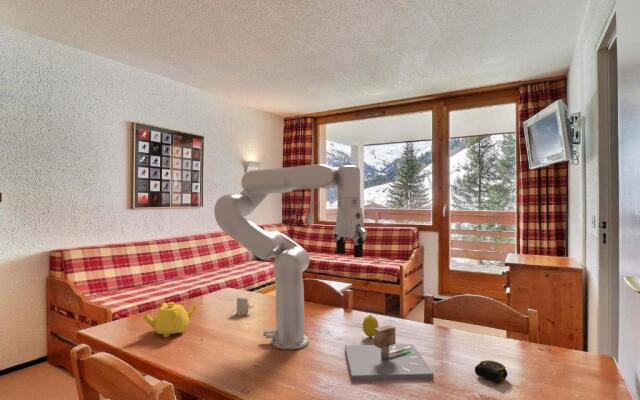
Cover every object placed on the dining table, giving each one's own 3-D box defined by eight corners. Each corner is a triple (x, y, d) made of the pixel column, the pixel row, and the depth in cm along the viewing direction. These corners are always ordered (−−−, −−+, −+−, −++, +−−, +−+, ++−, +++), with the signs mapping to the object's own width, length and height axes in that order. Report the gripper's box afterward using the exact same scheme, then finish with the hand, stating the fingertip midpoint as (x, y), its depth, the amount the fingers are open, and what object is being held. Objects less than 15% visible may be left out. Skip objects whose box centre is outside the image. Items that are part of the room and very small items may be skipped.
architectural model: (241, 312, 158) (241, 295, 158) (254, 314, 155) (254, 297, 155) (236, 315, 155) (236, 297, 155) (249, 317, 152) (249, 299, 152)
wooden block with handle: (379, 361, 104) (379, 331, 104) (374, 358, 106) (374, 328, 106) (413, 351, 110) (412, 323, 110) (407, 348, 112) (407, 320, 112)
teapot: (149, 347, 120) (149, 314, 120) (135, 333, 134) (135, 303, 134) (207, 332, 133) (206, 302, 133) (188, 320, 147) (188, 293, 147)
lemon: (378, 341, 123) (377, 317, 123) (362, 340, 124) (361, 317, 124) (378, 335, 128) (378, 313, 128) (363, 334, 129) (363, 312, 129)
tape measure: (473, 377, 98) (473, 363, 98) (487, 370, 101) (487, 357, 101) (497, 388, 92) (497, 373, 92) (511, 380, 96) (511, 366, 96)
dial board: (351, 381, 96) (351, 375, 96) (344, 350, 116) (344, 345, 116) (433, 379, 96) (433, 373, 96) (412, 348, 116) (412, 343, 116)
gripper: (374, 203, 113) (375, 257, 113) (343, 203, 127) (343, 251, 127) (355, 203, 109) (356, 260, 109) (325, 203, 124) (325, 253, 124)
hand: (349, 255), depth 118 cm, fingers open, 9 cm apart
